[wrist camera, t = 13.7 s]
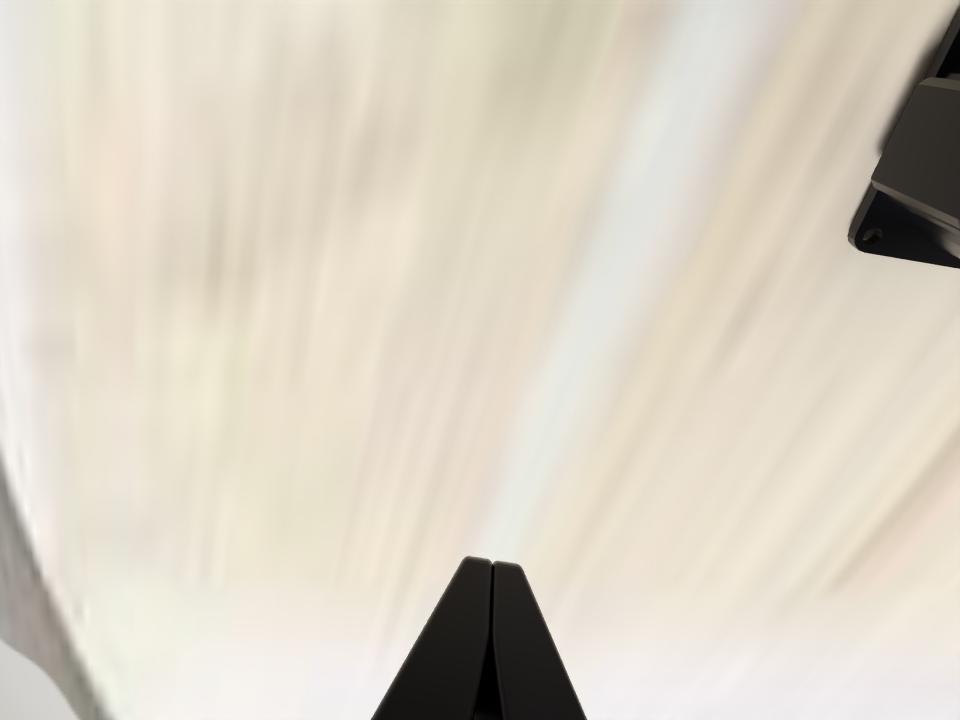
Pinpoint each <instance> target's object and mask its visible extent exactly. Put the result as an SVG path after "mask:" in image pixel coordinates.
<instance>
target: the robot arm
mask: <svg viewBox="0 0 960 720" xmlns="http://www.w3.org/2000/svg"><path fill="white" fill-rule="evenodd" d="M871 180H872V185H871V187H870V189H869V191H868V193H867V195H866V197H865V199H864V201H863V203H862V205H861V207H860V209H859V211H858V213H857V215H856V217H855V219H854V221H853V223H852V225H851V227H850V229H849V233H848V241H849V242H850V244H851V245H852V246H853V247H855V248H856V249H858V250H859V251H862V252H865V253H870V254H876V255H882V256H888V257H894V258H900V259H906V260H912V261H918V262H923V263H929V264H935V265H941V266H947V267H953V268H959V269H960V10H959V12H958V13H957V15H956V16H955V18H954V20H953V22H952V24H951V26H950V28H949V30H948V32H947V34H946V36H945V38H944V40H943V42H942V44H941V46H940V48H939V50H938V52H937V54H936V56H935V58H934V60H933V62H932V64H931V66H930V68H929V70H928V72H927V74H926V76H925V78H924V80H923V81H922V82H921V83H919V84H918V85H917V86H916V87H915V89H914V91H913V93H912V95H911V97H910V99H909V101H908V103H907V105H906V107H905V109H904V111H903V113H902V115H901V117H900V119H899V121H898V123H897V126H896V128H895V130H894V132H893V134H892V136H891V138H890V140H889V142H888V144H887V146H886V148H885V150H884V152H883V154H882V156H881V158H880V160H879V162H878V164H877V166H876V168H875V170H874V172H873V174H872V177H871ZM872 228H875V233H874V234H873V236H872V237H871V238H869V239H867V240H863V237H864V234H865V233H866V232H867V231H868V230H870V229H872ZM371 720H587V718H586V716H585V714H584V711H583V709H582V707H581V704H580V702H579V699H578V697H577V695H576V692H575V690H574V688H573V685H572V683H571V681H570V678H569V676H568V674H567V671H566V669H565V667H564V664H563V662H562V660H561V657H560V655H559V653H558V650H557V648H556V646H555V643H554V641H553V639H552V636H551V634H550V632H549V629H548V627H547V625H546V622H545V620H544V618H543V615H542V613H541V610H540V608H539V606H538V603H537V601H536V599H535V596H534V594H533V592H532V589H531V587H530V585H529V582H528V580H527V578H526V575H525V573H524V571H523V569H522V567H521V566H520V565H518V564H515V563H509V562H503V561H495V562H494V563H493V564H492V562H491V561H490V560H488V559H484V558H478V557H472V556H467V557H465V558H464V559H463V560H462V562H461V564H460V565H459V567H458V569H457V571H456V572H455V574H454V576H453V578H452V579H451V581H450V583H449V585H448V586H447V588H446V590H445V592H444V593H443V595H442V597H441V598H440V600H439V602H438V604H437V605H436V607H435V609H434V611H433V612H432V614H431V616H430V618H429V619H428V621H427V623H426V625H425V626H424V628H423V630H422V632H421V633H420V635H419V637H418V639H417V640H416V642H415V644H414V645H413V647H412V649H411V651H410V652H409V654H408V656H407V658H406V659H405V661H404V663H403V665H402V666H401V668H400V670H399V672H398V673H397V675H396V677H395V679H394V680H393V682H392V684H391V686H390V687H389V689H388V691H387V693H386V694H385V696H384V698H383V699H382V701H381V703H380V705H379V706H378V708H377V710H376V712H375V713H374V715H373V717H372V719H371Z"/></svg>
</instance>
